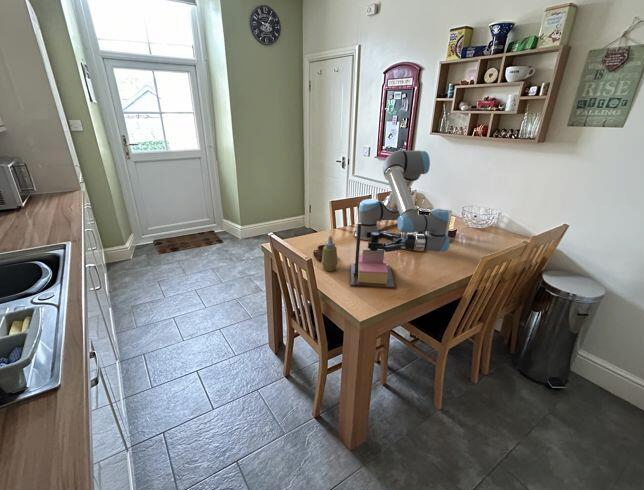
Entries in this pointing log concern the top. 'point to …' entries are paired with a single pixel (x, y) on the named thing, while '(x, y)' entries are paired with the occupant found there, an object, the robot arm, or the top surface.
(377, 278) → the cake
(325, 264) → the squeeze bottle
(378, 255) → the cutter
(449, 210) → the milk carton
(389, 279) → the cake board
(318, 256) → the cup and saucer
